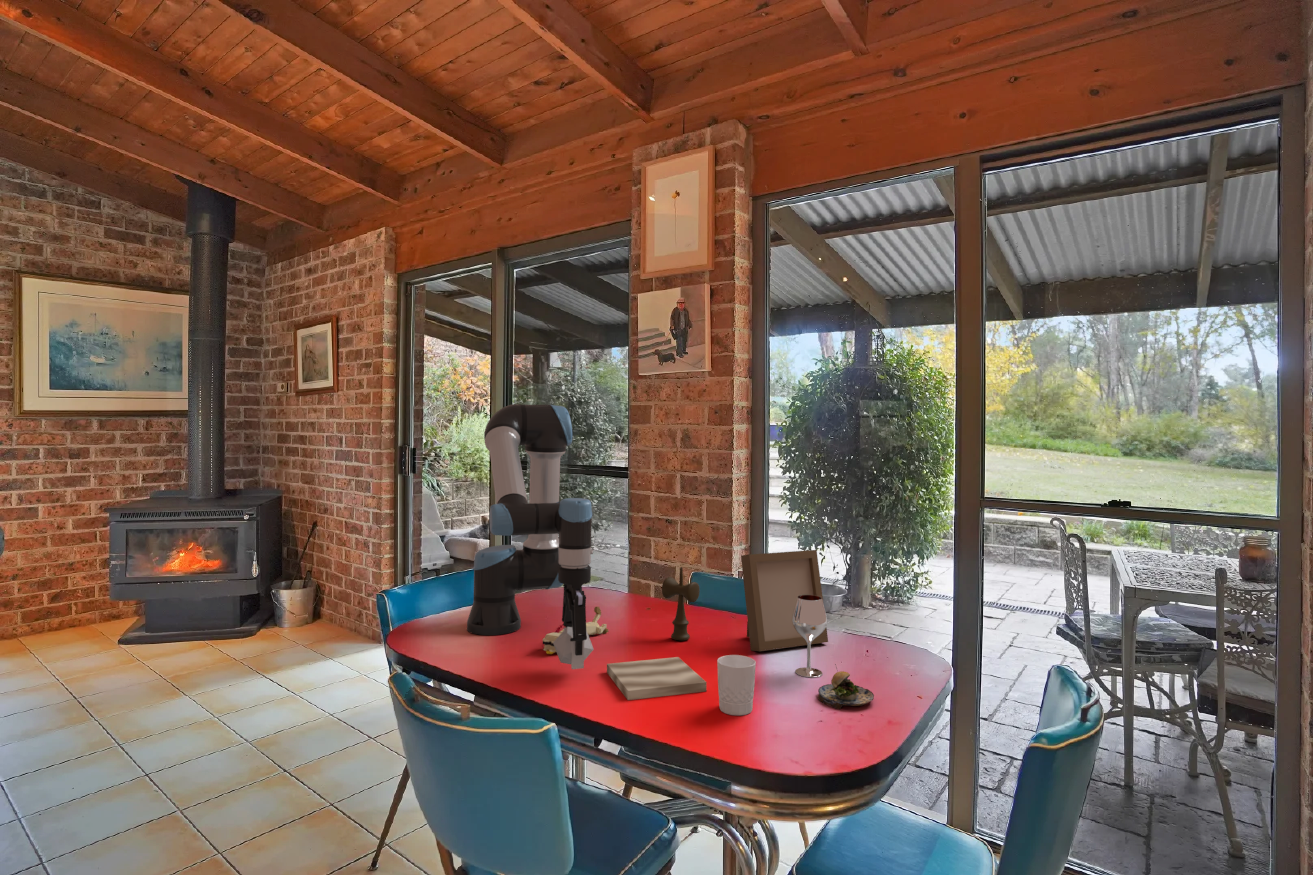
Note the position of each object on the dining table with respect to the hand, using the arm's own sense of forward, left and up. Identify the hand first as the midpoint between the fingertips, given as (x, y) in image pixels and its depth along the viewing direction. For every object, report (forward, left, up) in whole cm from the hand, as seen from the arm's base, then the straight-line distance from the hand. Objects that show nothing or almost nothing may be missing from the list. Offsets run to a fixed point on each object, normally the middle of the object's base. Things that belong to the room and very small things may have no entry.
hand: (573, 661), depth 162 cm
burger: (+31, +53, -4) cm, 62 cm away
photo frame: (-10, +59, -4) cm, 60 cm away
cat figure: (-24, +5, -4) cm, 25 cm away
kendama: (-20, +34, -3) cm, 39 cm away
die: (0, 0, 0) cm, 0 cm away
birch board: (+9, +17, -3) cm, 20 cm away
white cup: (+29, +28, -3) cm, 41 cm away
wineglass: (+14, +54, -3) cm, 56 cm away
